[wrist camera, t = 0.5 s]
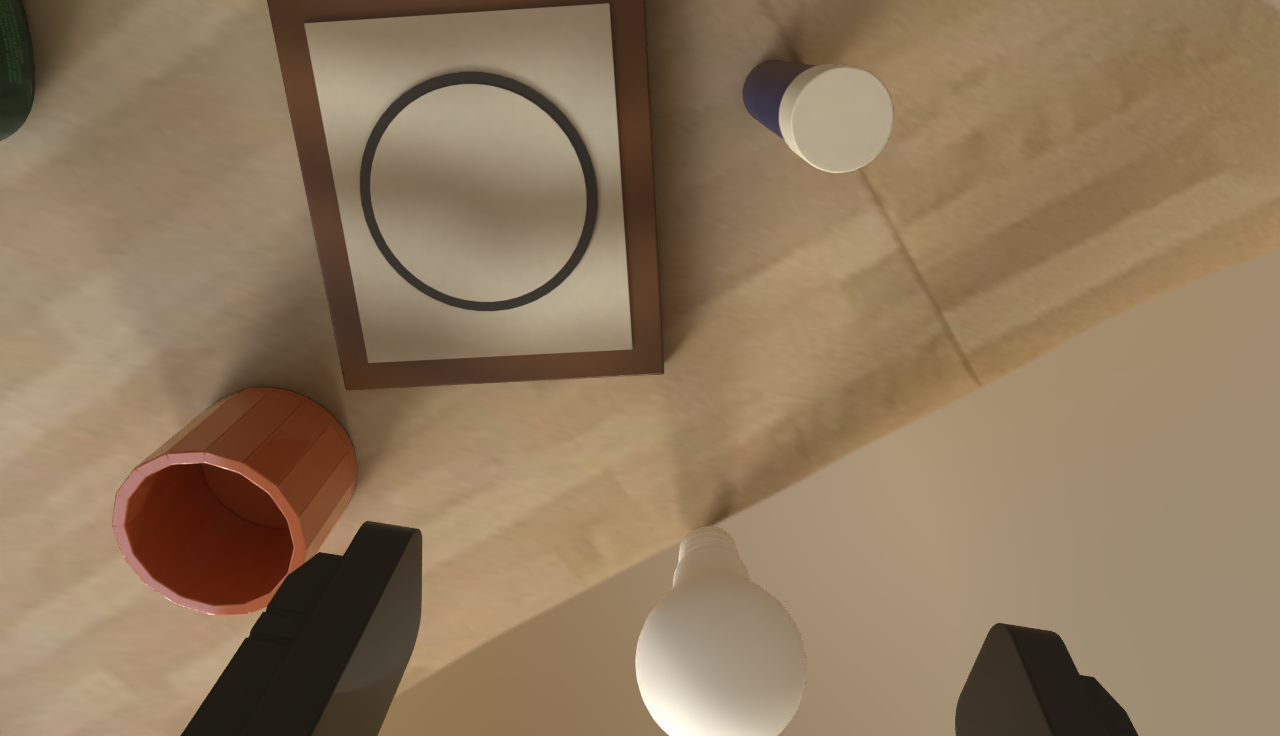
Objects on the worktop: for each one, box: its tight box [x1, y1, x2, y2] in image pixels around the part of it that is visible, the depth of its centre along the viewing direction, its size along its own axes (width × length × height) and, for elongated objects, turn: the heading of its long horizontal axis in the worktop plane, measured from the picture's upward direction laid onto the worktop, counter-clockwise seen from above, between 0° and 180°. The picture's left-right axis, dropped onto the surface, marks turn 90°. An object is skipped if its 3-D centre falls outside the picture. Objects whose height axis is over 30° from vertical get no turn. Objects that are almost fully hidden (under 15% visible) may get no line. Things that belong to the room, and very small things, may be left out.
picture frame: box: [267, 0, 664, 390], centre depth 31 cm, size 15×13×1 cm
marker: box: [743, 60, 894, 173], centre depth 25 cm, size 2×2×12 cm
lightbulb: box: [636, 526, 806, 736], centre depth 32 cm, size 6×6×11 cm
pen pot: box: [112, 387, 357, 615], centre depth 34 cm, size 7×7×6 cm
